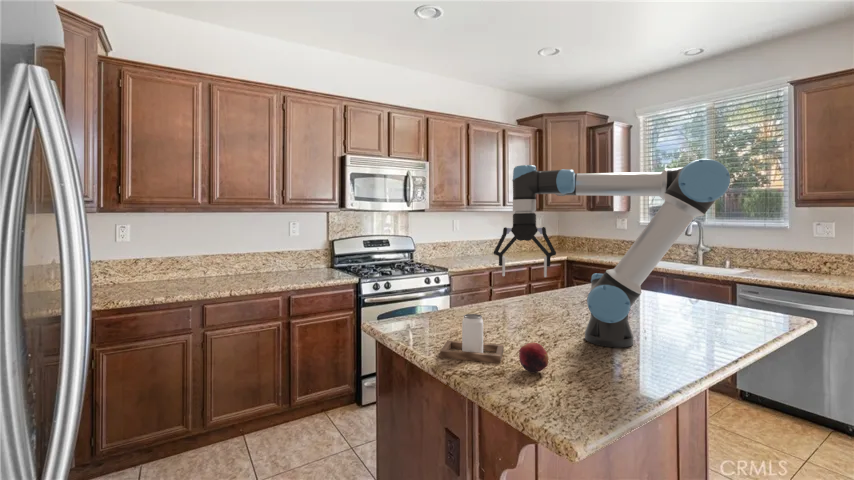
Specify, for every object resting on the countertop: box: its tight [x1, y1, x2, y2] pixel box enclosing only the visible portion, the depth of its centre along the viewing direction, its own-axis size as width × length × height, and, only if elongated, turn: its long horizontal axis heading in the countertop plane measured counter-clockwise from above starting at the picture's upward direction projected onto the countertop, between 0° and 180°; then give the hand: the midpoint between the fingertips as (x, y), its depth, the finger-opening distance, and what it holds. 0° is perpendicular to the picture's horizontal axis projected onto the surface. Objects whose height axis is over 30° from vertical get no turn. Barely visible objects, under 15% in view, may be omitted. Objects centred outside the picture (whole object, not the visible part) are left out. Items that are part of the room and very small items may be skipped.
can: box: [461, 313, 484, 353], centre depth 126 cm, size 6×6×12 cm
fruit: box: [518, 341, 549, 374], centre depth 112 cm, size 8×8×8 cm
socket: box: [439, 340, 504, 364], centre depth 127 cm, size 18×11×2 cm, turn 75°
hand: (524, 276), depth 137 cm, fingers open, 13 cm apart
